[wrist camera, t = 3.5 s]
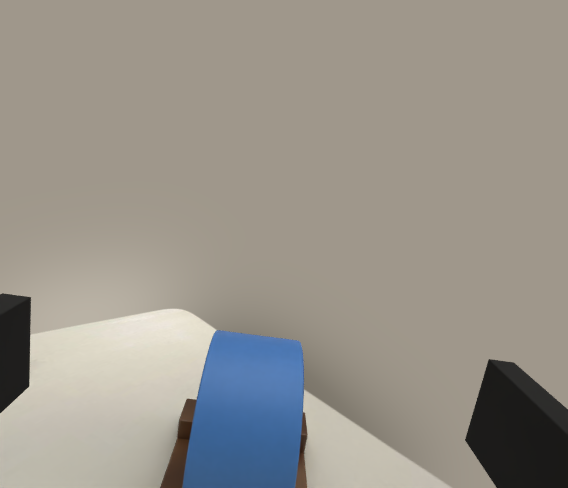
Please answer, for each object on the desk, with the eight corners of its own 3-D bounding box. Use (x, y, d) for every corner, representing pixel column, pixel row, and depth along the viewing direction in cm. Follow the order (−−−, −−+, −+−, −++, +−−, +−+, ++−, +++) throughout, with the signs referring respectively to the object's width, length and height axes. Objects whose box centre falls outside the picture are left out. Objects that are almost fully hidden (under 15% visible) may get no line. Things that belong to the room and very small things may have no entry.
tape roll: (276, 589, 19) (310, 415, 17) (172, 579, 19) (190, 401, 16) (277, 437, 29) (298, 312, 26) (208, 429, 29) (223, 302, 26)
